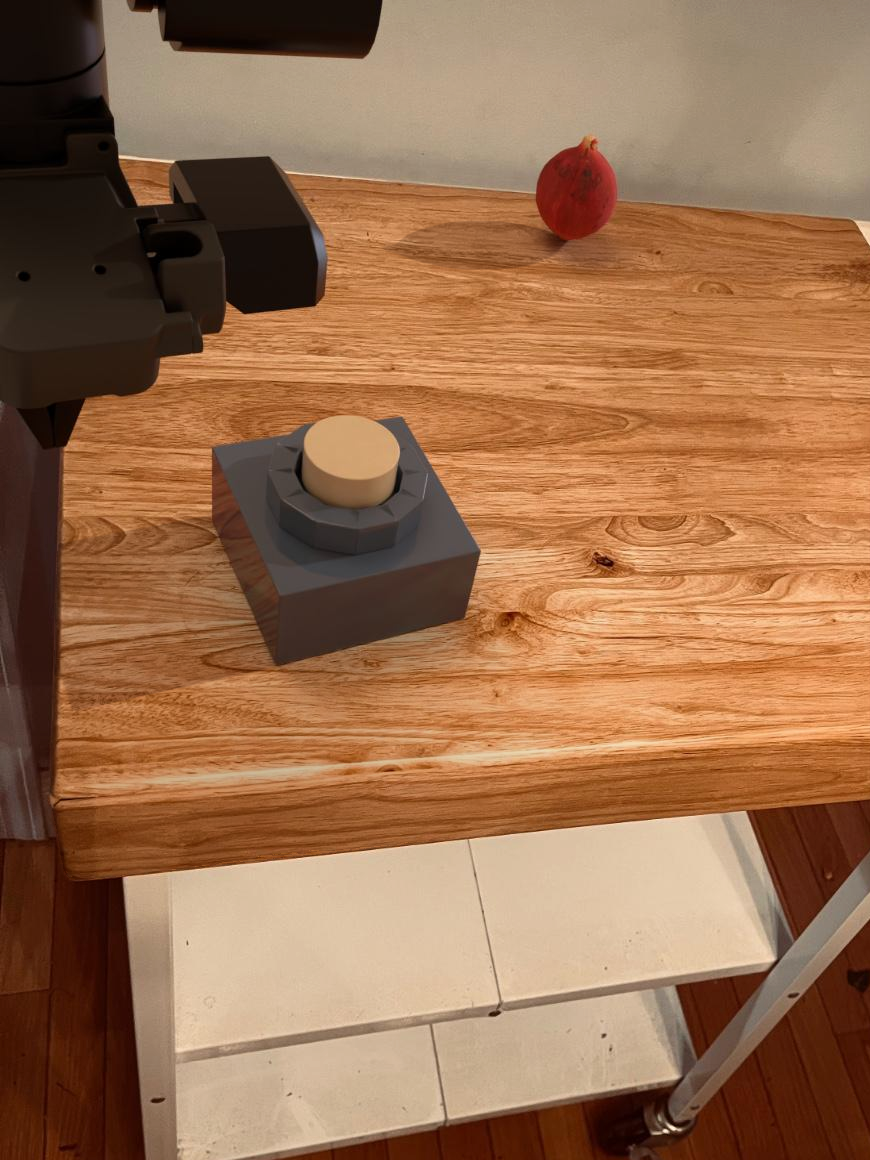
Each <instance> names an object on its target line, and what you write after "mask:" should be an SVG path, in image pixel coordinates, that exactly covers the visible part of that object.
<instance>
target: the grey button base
mask: <svg viewBox="0 0 870 1160" xmlns="http://www.w3.org/2000/svg"><path fill="white" fill-rule="evenodd" d="M374 421H375V422H377V423H379V424H381V425H382V426H384V427H385V428H387V429H388V430H389V431H390V432H391V433H392V434H393V435H394V437H395V438H396V440H397V442H398V445H399V449H400V456H399V463H398V469H397V476H396V482H395V487H394V490H393V492H392V494H391V495H390V496H389V498H387V499H386V500H385V501H384V502H383V503H381V504H379V505H377V506H375V507H369V508H364V509H359V510H350V509H345V508H339V507H334V506H328V505H326V504H324V503H322V502H321V501H319V500H317V499H316V498H314V497H313V496H312V495H311V494H310V493H309V492H308V491H307V489H306V488H305V486H304V484H303V481H302V477H301V470H302V456H303V443H304V438H305V435H306V433H307V432H308V430H309V429H310V428H311V427H312V426H313V425H314V424H315V423H317V422H318V421H317V422H309V423H304V424H302V425H300V426H299V427H297V428H296V429H294V430H293V431H292V432H290V433H288V434H282V435H277V436H270V437H264V438H257V439H251V440H244V441H239V442H232V443H227V444H220V445H215V446H214V445H213V446H211V521H212V524H213V526H214V528H215V531H216V532H217V535H218V537H219V539H220V542H221V544H222V547H223V548H224V551H225V553H226V555H227V559H228V560H229V563H230V565H231V567H232V568H233V569H232V570H233V572H234V573H235V576H236V579H237V581H238V583H239V585H240V588H241V590H242V592H243V594H244V597H245V600H246V601H247V604H248V606H249V608H250V611H251V613H252V615H253V617H254V620H255V622H256V624H257V628H258V629H259V631H260V633H261V636H262V638H263V641H264V643H265V645H266V647H267V650H268V651H269V652H268V653H269V654H270V656H271V659H272V661H273V664H274V665H275V666H280V665H283V664H285V665H286V664H288V663H292V662H295V661H300V660H303V659H307V658H311V657H316V656H320V655H324V654H327V653H332V652H336V651H340V650H343V649H347V648H351V647H355V646H360V645H363V644H368V643H371V642H374V641H379V640H384V639H387V638H391V637H395V636H399V635H403V634H406V633H412V632H415V631H418V630H422V629H426V628H431V627H435V626H439V625H443V624H446V623H451V622H454V621H459V620H462V619H465V618H466V615H467V611H468V607H469V603H470V598H471V595H472V590H473V586H474V581H475V578H476V574H477V570H478V565H479V561H480V557H481V553H482V550H481V548H480V546H479V544H478V542H477V540H476V539H475V537H474V536H473V534H472V532H471V531H470V529H469V528H468V525H467V523H466V522H465V520H464V519H463V517H462V515H461V513H460V512H459V510H458V509H457V507H456V505H455V503H454V502H453V499H451V497H450V495H449V493H448V491H447V490H446V488H445V486H444V484H443V483H442V481H441V480H440V478H439V476H438V474H437V473H436V471H435V469H434V467H433V466H432V464H431V462H430V461H429V459H428V457H427V456H426V454H425V452H424V451H423V449H422V447H421V445H420V443H419V442H418V440H417V438H416V437H415V435H414V433H413V432H412V430H411V428H410V427H409V425H408V423H407V422H406V420H405V418H404V417H403V416H396V417H394V416H393V417H388V418H382V419H376V420H374Z"/></svg>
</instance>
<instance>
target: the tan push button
mask: <svg viewBox="0 0 870 1160" xmlns="http://www.w3.org/2000/svg"><path fill="white" fill-rule="evenodd" d="M375 421H376V420H373V419H370V418H367V417H364V416H359V415H352V414H351V415H350V414H341V415H333V416H329V417H325V418H323V419H321V420H318V421H317V423H315V422H314V423H315V424H314V425H313V426H312V427H311V428H310V429H309V430H308V432H307V433H306V435H305V438H304V443H303V456H302V470H301V477H302V481H303V484H304V486H305V488H306V489H307V491H308V492H309V493H310V494H311V495H312V496H313V497H314V498H316V499H317V500H319V501H321V502H322V503H324V504H326V505H328V506H334V507H339V508H345V509H350V510H359V509H364V508H369V507H375V506H377V505H379V504H381V503H383V502H384V501H385V500H386V499H387V498H389V496H390V495H391V494H392V492H393V490H394V487H395V482H396V476H397V469H398V463H399V456H400V449H399V445H398V442H397V440H396V438H395V437H394V435H393V434H392V433H391V432H390V431H389V430H388V429H387V428H385V427H384V426H382V425H381V424H379V423H377V422H375Z"/></svg>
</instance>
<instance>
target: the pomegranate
mask: <svg viewBox="0 0 870 1160" xmlns="http://www.w3.org/2000/svg"><path fill="white" fill-rule="evenodd" d="M599 143H600V141H599V139H597V137H596V136H594V135H593V134H589V135H585V136H583V138H582V140H581V142H580V143H579V144H578V145H576V146H572V147H568V148H567V147H566V148H564V149H563V150H560V151H559V152H558V153H556V154H555V155H554V156H552V157H551V158H550V159H549V160H548V161H547V162H546V163H545V164H544V166H543V167H542V169H541V171H540V173H539V175H538V178H537V181H536V189H535V203H536V207H537V211H538V213H539V215H540V217H541V219H542V221H543V223H544V224H545V226H546V227H547V228H549V230H551V231H552V233H553V234H555V235H556V236H557V237H559V239H561V240H563V241H567V242H568V241H573V240H580V239H584V238H587V237H589V236H591V235H593V234H596V233H598V232H599V231H600V230H601V229H602V228H603V227H605V226H606V224H607V223H608V222H609V221H610V219H611V218H612V216H613V214H614V213H615V211H616V207H617V203H618V182H617V177H616V174H615V172H614V169H613V167H612V166H611V164H610V163H609V161H608V160H607V158H606V156H604V155H603V154H602V153H601V152H600V151H598V145H599Z"/></svg>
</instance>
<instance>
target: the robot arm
mask: <svg viewBox="0 0 870 1160" xmlns="http://www.w3.org/2000/svg"><path fill="white" fill-rule="evenodd" d="M383 1H384V0H126V4H127V7H128V9H129V11H131V12H133V13H148V14H149V13H150V14H151V13H152V12H153V10H157V19H158V26H159V33H160V38H161V41H162V42H165V43H167V42H168V44H169V46H170V47H171V48H172V50H173V51H174V52H183V53H185V52H186V53H204V54H205V53H208V54H228V55H229V54H232V55H233V54H234V55H253V56H254V55H257V56H279V57H280V56H281V57H300V58H301V57H303V58H327V59H328V58H329V59H330V58H331V59H349V60H350V59H351V60H352V59H354V60H364V59H365V58H366V57H368V55H369V54H370V53H371V50H372V48H373V46H374V44H375V41H376V38H377V35H378V31H379V27H380V21H381V16H382V15H381V14H382V10H383V9H382V8H383ZM106 52H107V50H106V39H105V25H104V11H103V0H0V402H1V403H3V404H5V405H7V406H9V407H11V408H12V407H13V408H14V409H15V410H16V411H17V413H18V414H19V416H20V417H21V419H22V420H23V422H24V424H25V425H26V427H27V428H28V430H29V431H30V432H31V434H32V435H33V437H34V438H35V440H36V441H37V443H38V444H39V446H40V447H41V449H42V450H43V451H44V450H45V451H46V450H53V449H55V448H56V449H59V448H66V447H67V446H68V443H69V440H70V439H71V437H72V433H73V431H74V429H75V427H76V424H77V421H78V419H79V417H80V414H81V412H82V409H83V407H84V404H85V401H86V399H88V398H89V399H90V398H96V397H103V396H117V397H128V396H134V395H138V394H142V393H144V392H146V391H148V390H149V389H150V388H152V387H153V386H154V385H155V383H156V382H157V380H158V377H159V374H160V366H161V359H163V358H170V357H171V358H172V357H179V356H187V355H194V354H195V355H196V354H202V353H203V352H204V338H203V336H206V335H214V334H220V333H221V331H222V330H223V327H224V323H225V318H226V313H227V303H228V304H229V305H230V306H232V308H233V307H234V309H236V310H237V311H239V312H240V313H241V314H243V315H252V314H262V313H270V312H277V311H288V310H297V309H307V308H315V307H317V305H318V304H319V303H320V302H321V301H322V300H323V298H324V297H325V296H326V284H327V272H328V271H327V270H328V259H329V258H328V257H329V256H328V253H327V247H326V243H325V237H324V233H323V231H322V229H321V228H320V227H319V225H318V224H317V222H316V220H315V219H314V217H313V215H312V213H311V212H310V210H309V209H308V207H307V206H306V204H305V202H304V200H303V199H302V197H301V195H300V194H299V192H298V191H297V189H296V187H295V186H294V184H293V182H292V181H291V179H290V178H289V176H288V174H287V173H286V171H285V170H284V169H283V168H282V167H281V166H280V165H279V164H278V163H277V162H275V160H274V159H273V158H272V157H271V156H270V155H265V156H264V155H263V156H262V155H261V156H245V157H244V156H243V157H242V156H241V157H222V158H221V157H219V158H200V159H180V160H177V159H176V160H174V162H173V163H172V165H170V167H169V168H168V190H169V192H168V193H169V194H168V195H169V198H170V200H171V202H172V203H162V204H161V203H160V204H146V205H145V204H144V205H142V204H141V205H138V202H137V200H136V198H135V196H134V193H133V191H132V189H131V187H130V185H129V181H127V178H126V176H125V174H124V172H123V170H122V167H121V165H120V164H121V163H120V156H119V143H118V140H117V139H116V127H115V117H114V115H113V112H112V111H111V108H110V94H109V81H108V80H109V78H108V65H107V53H106Z"/></svg>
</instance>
